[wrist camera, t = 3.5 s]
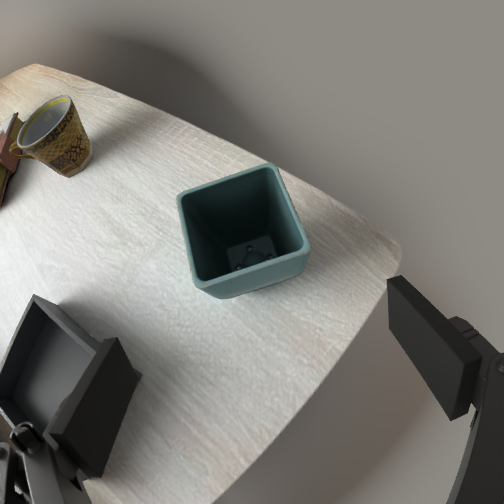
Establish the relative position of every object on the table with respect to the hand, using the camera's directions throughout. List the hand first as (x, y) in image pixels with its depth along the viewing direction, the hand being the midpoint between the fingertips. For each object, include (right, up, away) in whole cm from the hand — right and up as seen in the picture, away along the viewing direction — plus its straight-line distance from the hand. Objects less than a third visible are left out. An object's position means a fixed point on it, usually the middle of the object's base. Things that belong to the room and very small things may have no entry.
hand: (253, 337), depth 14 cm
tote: (-21, -12, +15) cm, 28 cm away
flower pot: (0, +3, +18) cm, 18 cm away
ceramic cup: (-29, +18, +29) cm, 45 cm away
